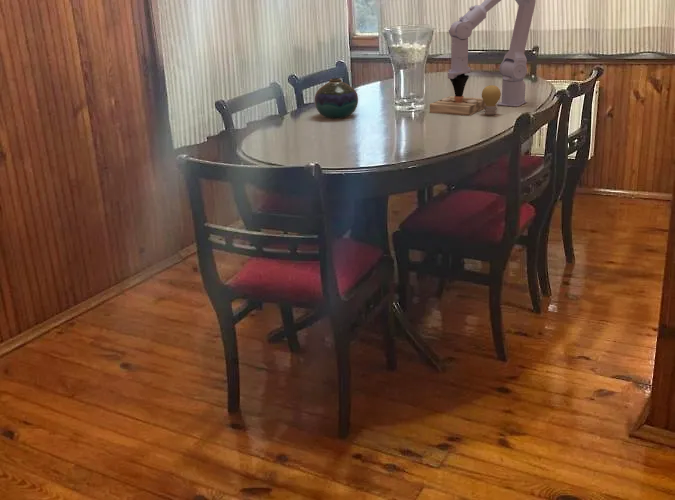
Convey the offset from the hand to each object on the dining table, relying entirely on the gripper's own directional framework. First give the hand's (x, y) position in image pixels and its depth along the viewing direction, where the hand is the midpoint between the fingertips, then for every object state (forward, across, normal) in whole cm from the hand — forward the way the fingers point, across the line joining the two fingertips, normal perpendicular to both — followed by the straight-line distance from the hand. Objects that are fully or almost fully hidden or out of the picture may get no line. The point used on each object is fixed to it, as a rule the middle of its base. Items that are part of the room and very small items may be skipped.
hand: (458, 96), depth 263 cm
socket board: (+5, 0, 0) cm, 5 cm away
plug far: (+4, 0, -5) cm, 6 cm away
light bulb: (+5, +3, +14) cm, 15 cm away
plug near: (+4, 0, +5) cm, 6 cm away
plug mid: (+3, 0, 0) cm, 3 cm away
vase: (+5, +27, -34) cm, 44 cm away
